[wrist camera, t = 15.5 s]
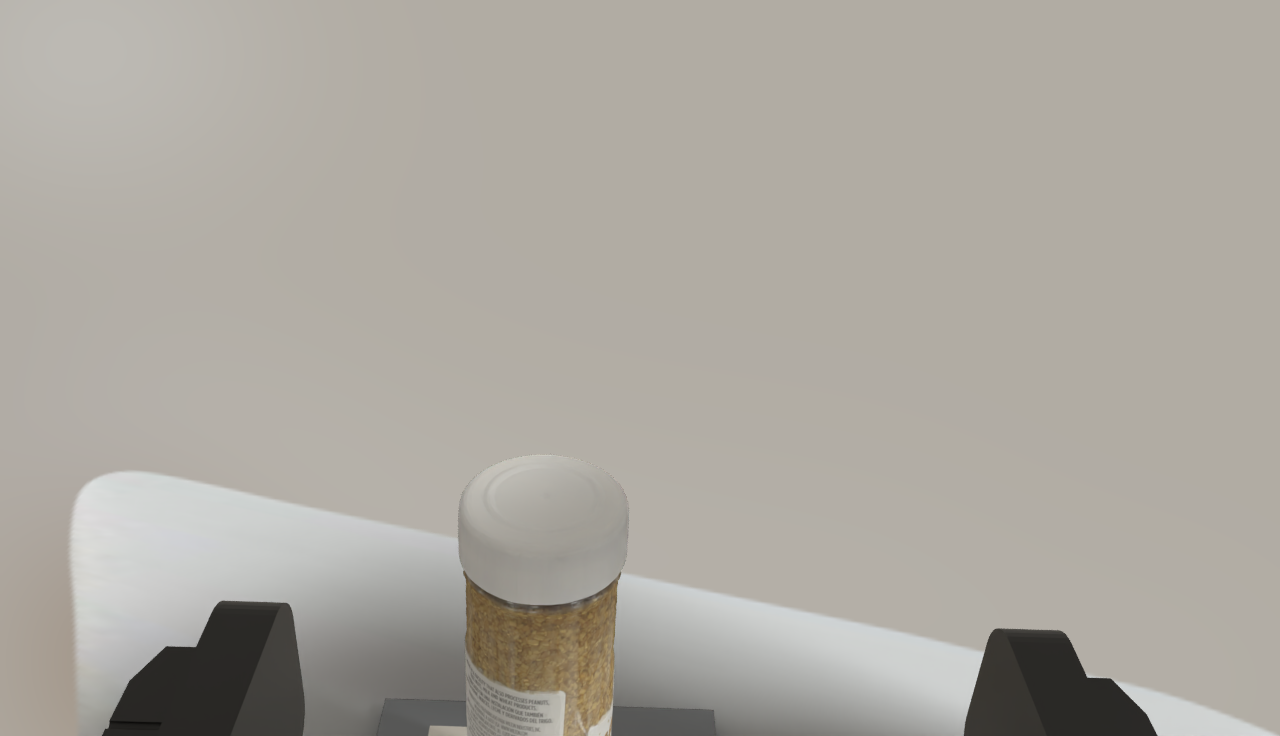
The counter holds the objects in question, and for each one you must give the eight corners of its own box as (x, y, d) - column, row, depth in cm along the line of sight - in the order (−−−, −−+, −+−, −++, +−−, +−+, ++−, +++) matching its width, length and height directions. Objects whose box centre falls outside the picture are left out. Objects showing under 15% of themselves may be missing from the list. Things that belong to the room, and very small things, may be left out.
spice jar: (636, 842, 37) (666, 505, 30) (521, 924, 34) (527, 574, 27) (549, 754, 40) (558, 429, 33) (436, 824, 37) (423, 484, 30)
